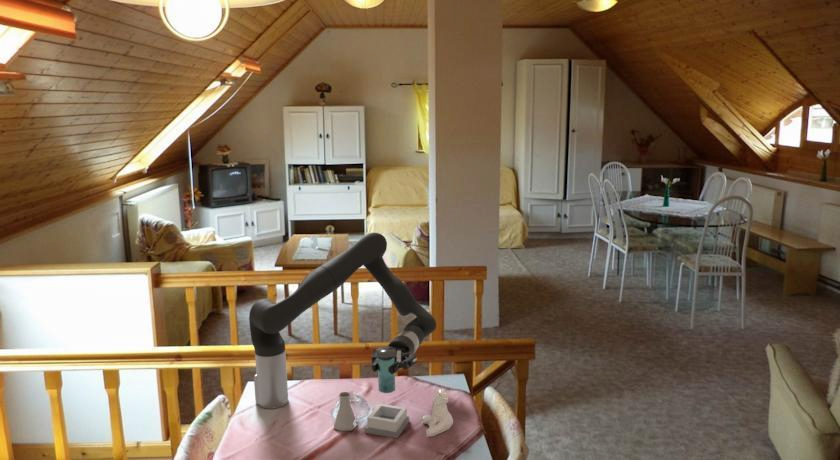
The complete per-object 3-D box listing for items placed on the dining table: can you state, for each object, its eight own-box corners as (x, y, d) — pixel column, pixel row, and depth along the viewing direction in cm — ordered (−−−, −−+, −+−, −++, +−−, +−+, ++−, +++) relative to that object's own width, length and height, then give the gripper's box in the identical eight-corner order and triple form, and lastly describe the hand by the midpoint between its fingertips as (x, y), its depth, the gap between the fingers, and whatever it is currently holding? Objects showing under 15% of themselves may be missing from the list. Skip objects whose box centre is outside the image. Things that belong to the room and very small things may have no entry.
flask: (353, 433, 181) (352, 401, 178) (329, 430, 182) (328, 398, 180) (361, 420, 187) (360, 389, 185) (337, 418, 189) (336, 387, 187)
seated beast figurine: (420, 421, 187) (420, 383, 184) (449, 418, 188) (449, 380, 186) (427, 437, 178) (426, 398, 175) (456, 434, 179) (456, 395, 177)
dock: (364, 432, 181) (364, 418, 180) (378, 415, 190) (377, 402, 189) (397, 438, 177) (397, 423, 176) (409, 421, 187) (409, 407, 186)
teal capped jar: (374, 392, 180) (372, 353, 177) (381, 383, 185) (380, 345, 182) (392, 394, 178) (391, 355, 175) (399, 386, 183) (398, 347, 180)
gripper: (381, 332, 194) (358, 354, 179) (425, 337, 190) (406, 360, 174) (382, 355, 196) (359, 378, 180) (426, 360, 191) (406, 385, 176)
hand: (382, 369), depth 177 cm, fingers closed on teal capped jar, 4 cm apart
